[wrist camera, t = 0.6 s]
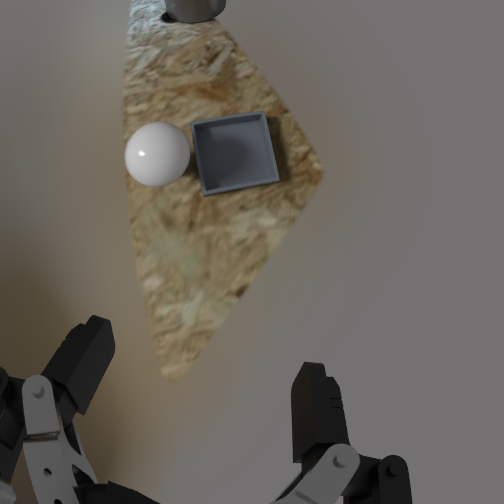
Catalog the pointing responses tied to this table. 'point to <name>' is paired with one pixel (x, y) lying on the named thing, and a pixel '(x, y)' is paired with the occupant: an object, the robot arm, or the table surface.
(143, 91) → the table surface
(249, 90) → the table surface
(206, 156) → the walled box
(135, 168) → the lightbulb
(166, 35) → the table surface
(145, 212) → the table surface
